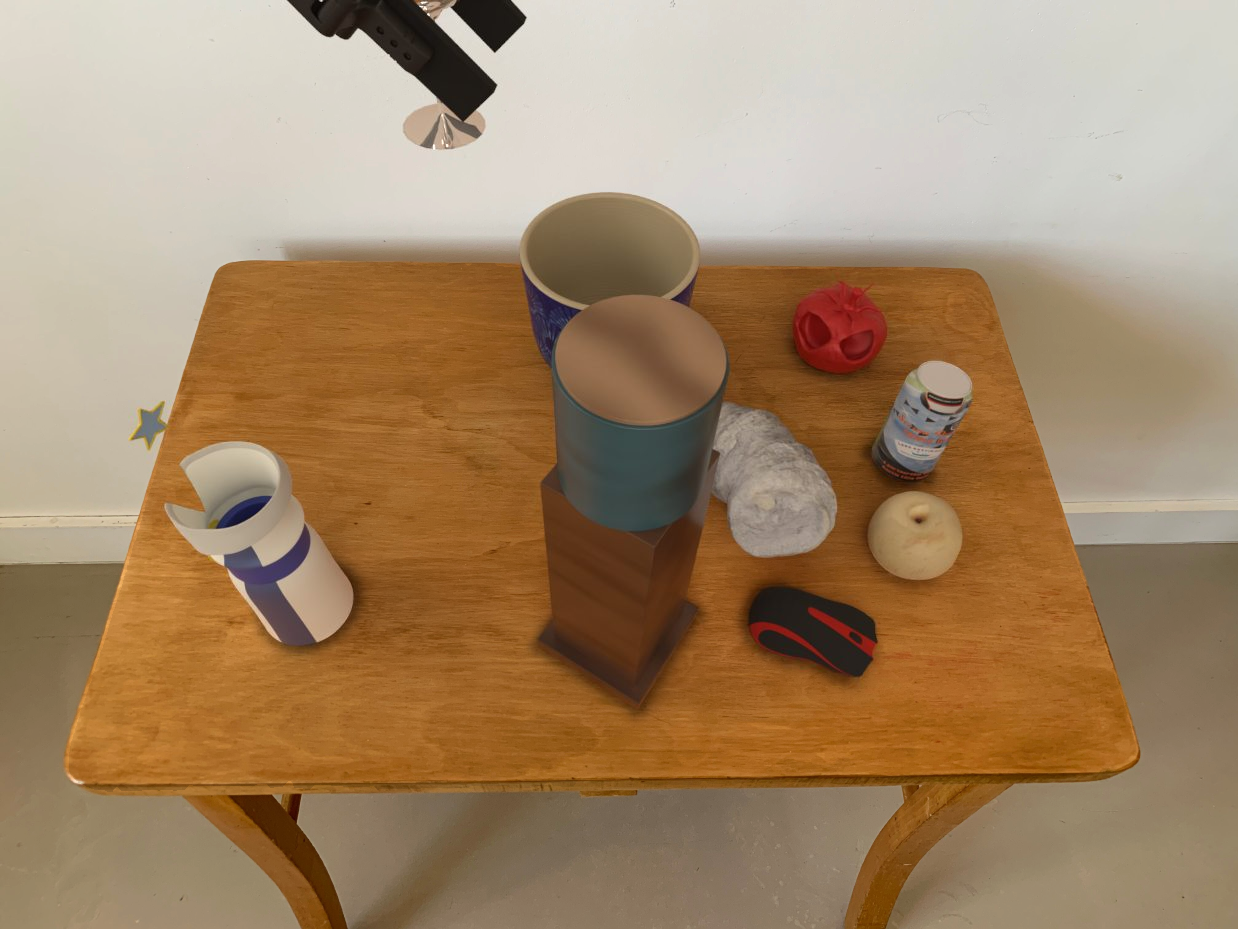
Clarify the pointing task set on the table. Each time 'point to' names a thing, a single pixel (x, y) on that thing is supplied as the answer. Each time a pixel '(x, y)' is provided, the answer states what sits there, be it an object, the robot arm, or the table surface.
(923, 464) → the beverage can
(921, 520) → the apple
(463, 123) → the wineglass
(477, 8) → the robot arm
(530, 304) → the planter
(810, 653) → the computer mouse
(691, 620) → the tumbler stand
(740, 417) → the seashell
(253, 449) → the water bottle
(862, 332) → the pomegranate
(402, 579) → the table surface
